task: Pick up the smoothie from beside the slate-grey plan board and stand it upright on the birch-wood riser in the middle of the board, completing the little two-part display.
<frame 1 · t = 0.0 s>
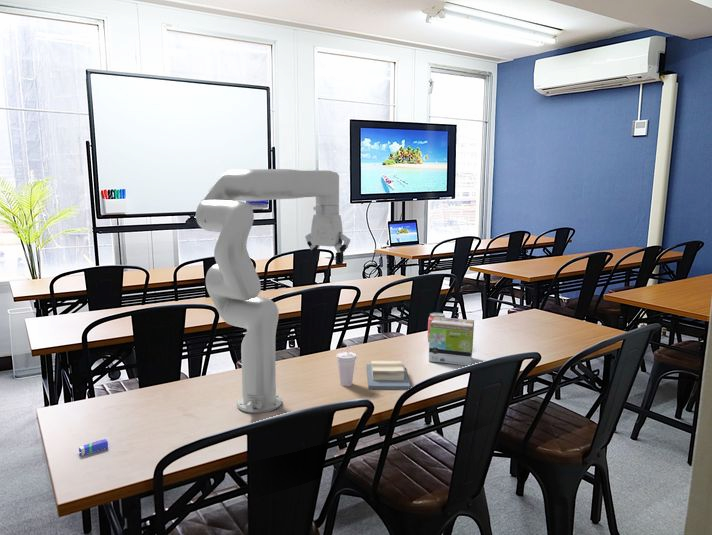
hand: (327, 263, 177), 37 cm above the table, tool pointing down, fingers open, 9 cm apart
soda can: (436, 344, 216), on the table
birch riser: (387, 370, 178), on the plan board, point 2 cm above the table
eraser: (94, 452, 128), on the table
smoothie: (346, 384, 172), on the table
tea box: (450, 360, 196), on the table
plan board: (387, 377, 178), on the table
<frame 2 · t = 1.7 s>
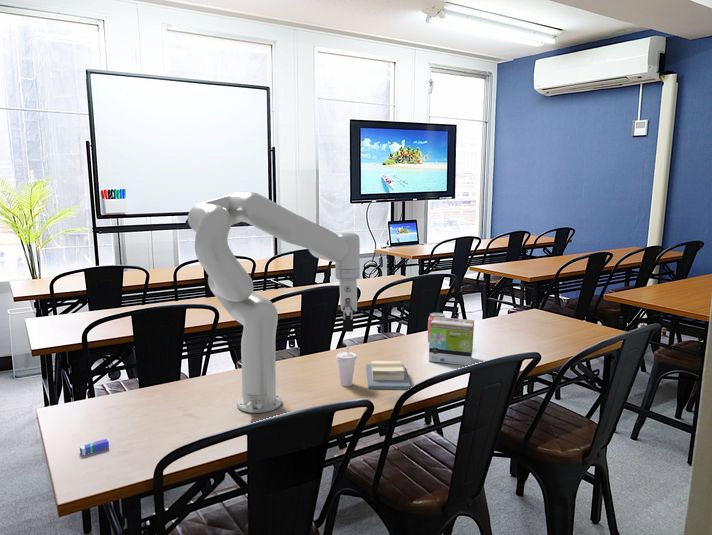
hand: (348, 327, 169), 19 cm above the table, tool pointing down, fingers open, 9 cm apart
nothing on the table moved.
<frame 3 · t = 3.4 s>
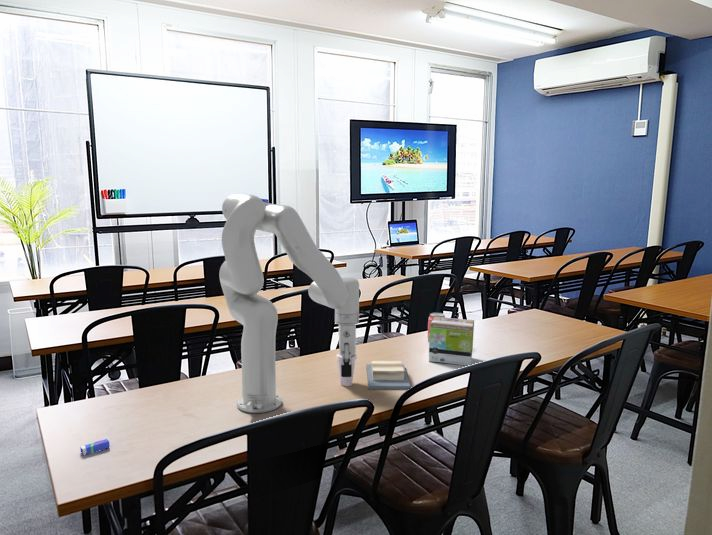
hand: (346, 372, 171), 4 cm above the table, tool pointing down, fingers closed on smoothie, 6 cm apart
smoothie: (346, 384, 172), on the table, touching gripper
everything else where it was.
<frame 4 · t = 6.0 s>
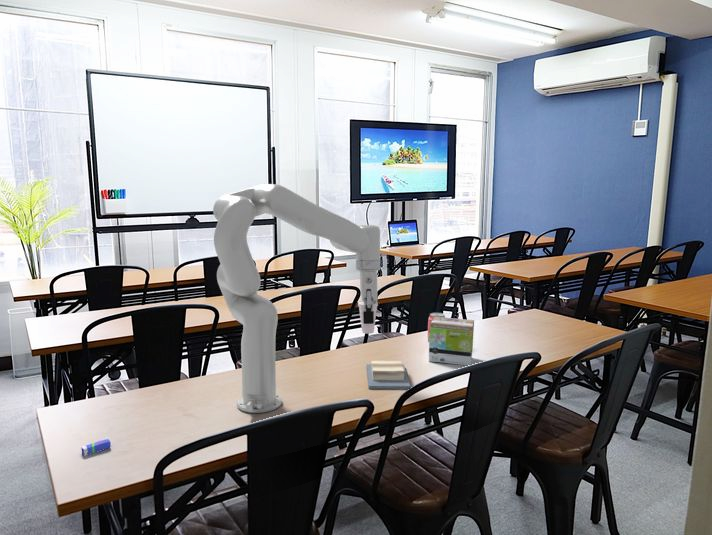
hand: (368, 320, 172), 20 cm above the table, tool pointing down, fingers closed on smoothie, 6 cm apart
smoothie: (367, 332, 172), point 16 cm above the table, touching gripper
everything else where it was.
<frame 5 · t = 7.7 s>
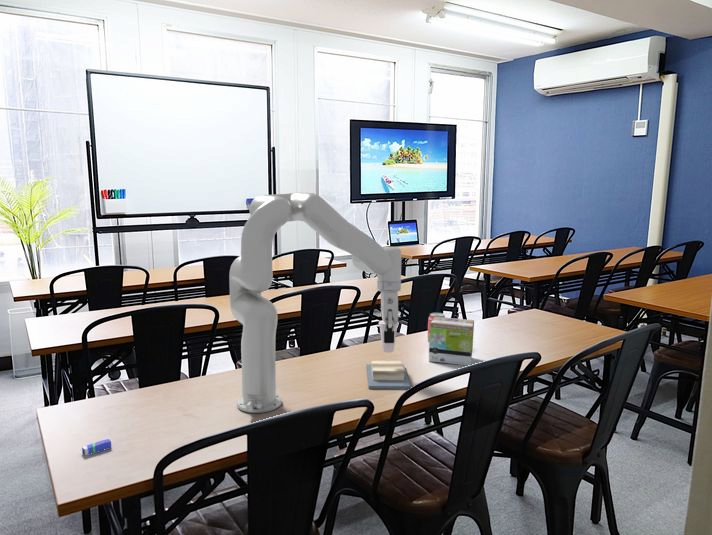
hand: (388, 339, 176), 13 cm above the table, tool pointing down, fingers closed on smoothie, 6 cm apart
smoothie: (388, 351, 177), point 9 cm above the table, touching gripper
everything else where it was.
when the fingers open (9 cm above the table, at t = 8.9 s): smoothie drops 1 cm, resting on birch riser.
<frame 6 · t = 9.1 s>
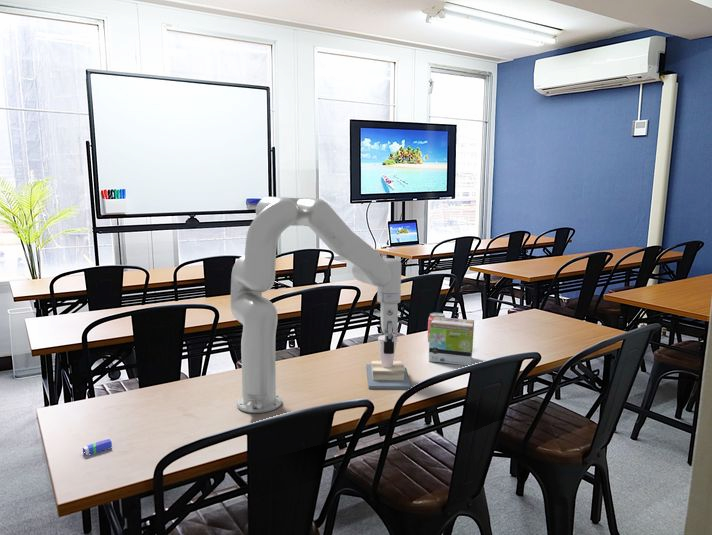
hand: (387, 349, 177), 10 cm above the table, tool pointing down, fingers open, 8 cm apart
smoothie: (386, 366, 177), point 4 cm above the table, touching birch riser
everything else where it was.
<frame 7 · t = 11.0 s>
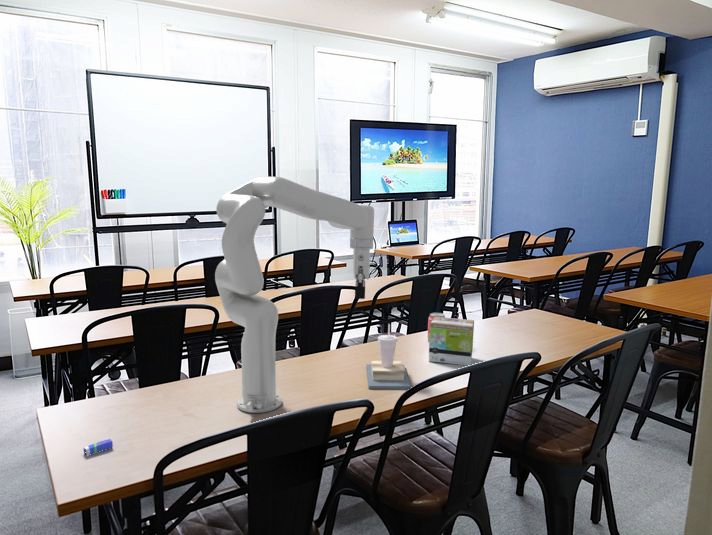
hand: (360, 295, 177), 27 cm above the table, tool pointing down, fingers open, 9 cm apart
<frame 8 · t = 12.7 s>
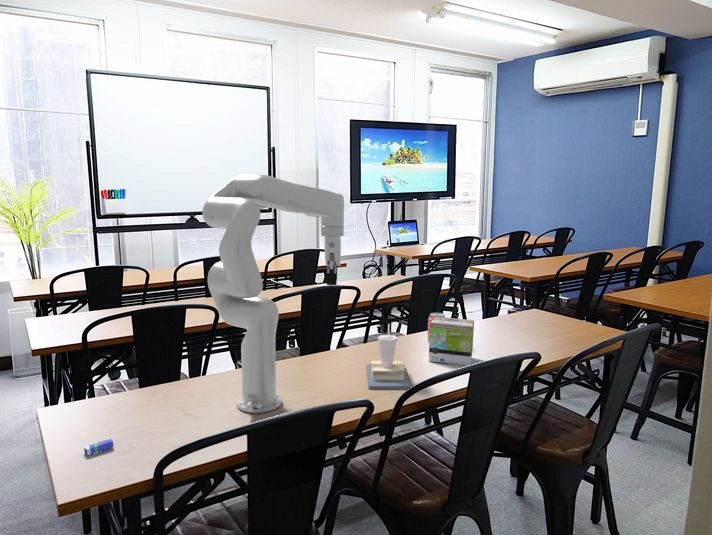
hand: (332, 282, 181), 30 cm above the table, tool pointing down, fingers open, 9 cm apart
at the end: smoothie 0.2 cm off-centre on the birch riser, point 3.8 cm above the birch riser's base; smoothie tilted 0°; the gripper is holding nothing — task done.
